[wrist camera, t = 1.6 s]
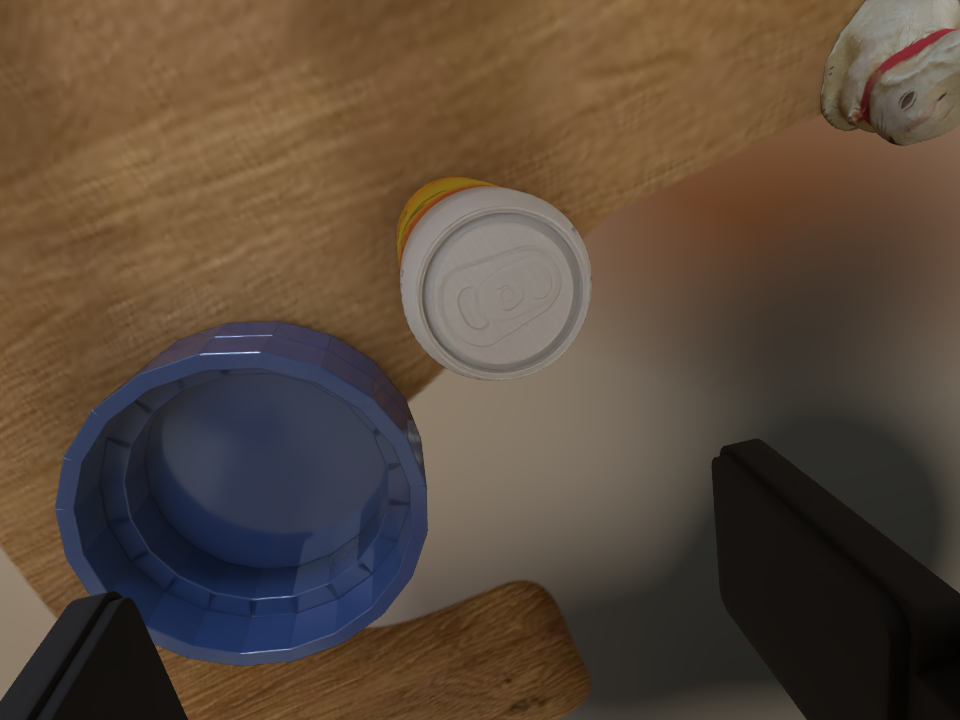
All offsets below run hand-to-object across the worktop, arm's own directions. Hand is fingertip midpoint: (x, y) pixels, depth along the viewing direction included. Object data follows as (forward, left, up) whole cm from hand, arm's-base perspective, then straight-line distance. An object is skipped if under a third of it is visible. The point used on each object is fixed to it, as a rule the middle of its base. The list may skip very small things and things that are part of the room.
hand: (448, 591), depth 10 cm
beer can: (-3, +2, -25) cm, 25 cm away
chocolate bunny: (-18, +20, -25) cm, 37 cm away
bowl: (+12, -4, -25) cm, 28 cm away
